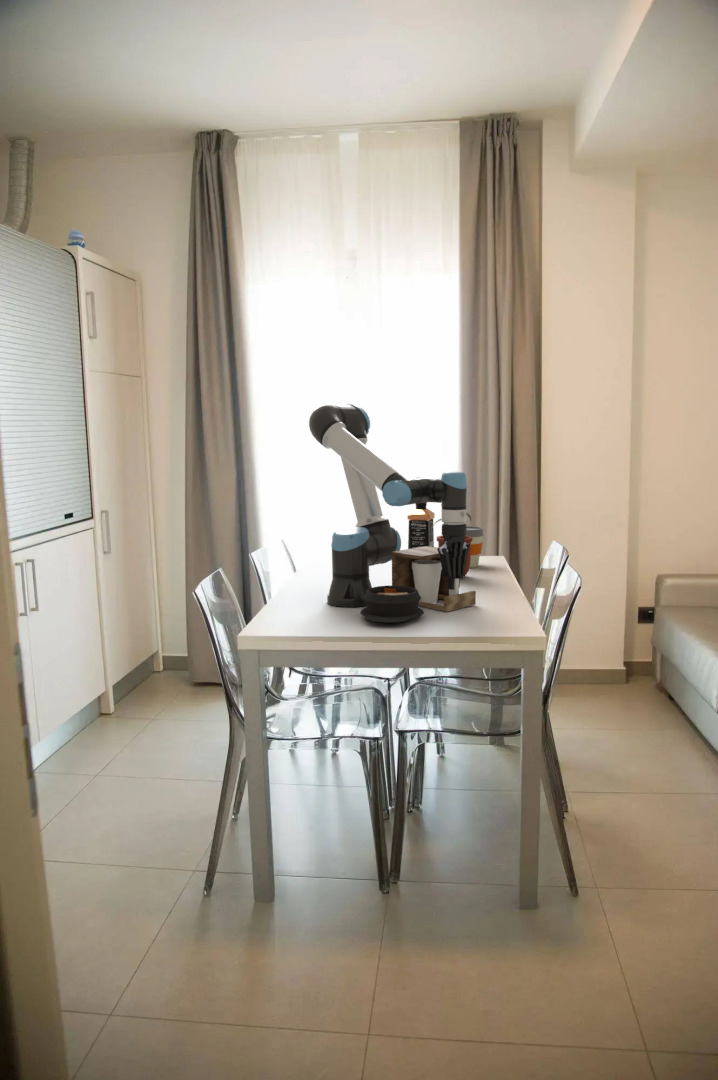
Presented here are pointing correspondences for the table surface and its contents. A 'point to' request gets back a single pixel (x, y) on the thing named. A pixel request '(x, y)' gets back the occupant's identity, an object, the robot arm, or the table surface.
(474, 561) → the reusable coffee cup
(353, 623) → the table surface
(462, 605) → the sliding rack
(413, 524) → the whiskey bottle
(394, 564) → the cubby cabinet
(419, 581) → the foam cup
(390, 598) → the casserole
